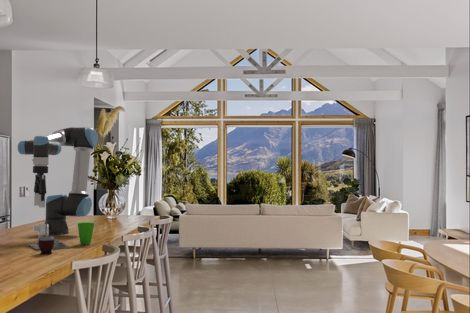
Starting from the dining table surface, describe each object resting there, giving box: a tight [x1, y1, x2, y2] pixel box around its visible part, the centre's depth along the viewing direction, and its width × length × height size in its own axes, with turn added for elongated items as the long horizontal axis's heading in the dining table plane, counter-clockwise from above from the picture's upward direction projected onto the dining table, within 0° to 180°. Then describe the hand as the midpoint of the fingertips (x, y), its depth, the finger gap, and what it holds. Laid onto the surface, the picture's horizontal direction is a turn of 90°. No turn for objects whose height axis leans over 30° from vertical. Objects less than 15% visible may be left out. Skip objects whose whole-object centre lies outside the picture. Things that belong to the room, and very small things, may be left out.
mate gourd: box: [37, 223, 55, 255], centre depth 251 cm, size 8×8×15 cm
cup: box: [76, 221, 95, 245], centre depth 283 cm, size 9×9×11 cm
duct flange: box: [28, 239, 70, 251], centre depth 270 cm, size 16×16×3 cm
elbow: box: [32, 223, 50, 243], centre depth 281 cm, size 8×5×10 cm, turn 122°
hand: (39, 206), depth 282 cm, fingers open, 13 cm apart
